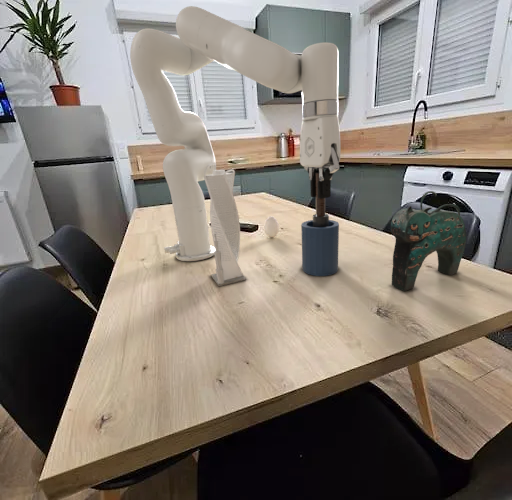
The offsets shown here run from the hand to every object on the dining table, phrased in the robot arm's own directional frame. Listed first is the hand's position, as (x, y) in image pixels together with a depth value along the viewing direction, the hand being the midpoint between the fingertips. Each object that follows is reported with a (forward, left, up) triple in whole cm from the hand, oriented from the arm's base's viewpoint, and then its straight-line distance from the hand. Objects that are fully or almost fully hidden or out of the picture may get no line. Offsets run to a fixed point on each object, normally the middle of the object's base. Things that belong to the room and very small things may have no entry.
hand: (320, 196), depth 70 cm
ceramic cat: (+16, -17, -19) cm, 30 cm away
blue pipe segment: (0, 0, -19) cm, 19 cm away
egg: (+2, +33, -19) cm, 38 cm away
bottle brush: (0, 0, -10) cm, 10 cm away
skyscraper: (-22, +8, -19) cm, 30 cm away
